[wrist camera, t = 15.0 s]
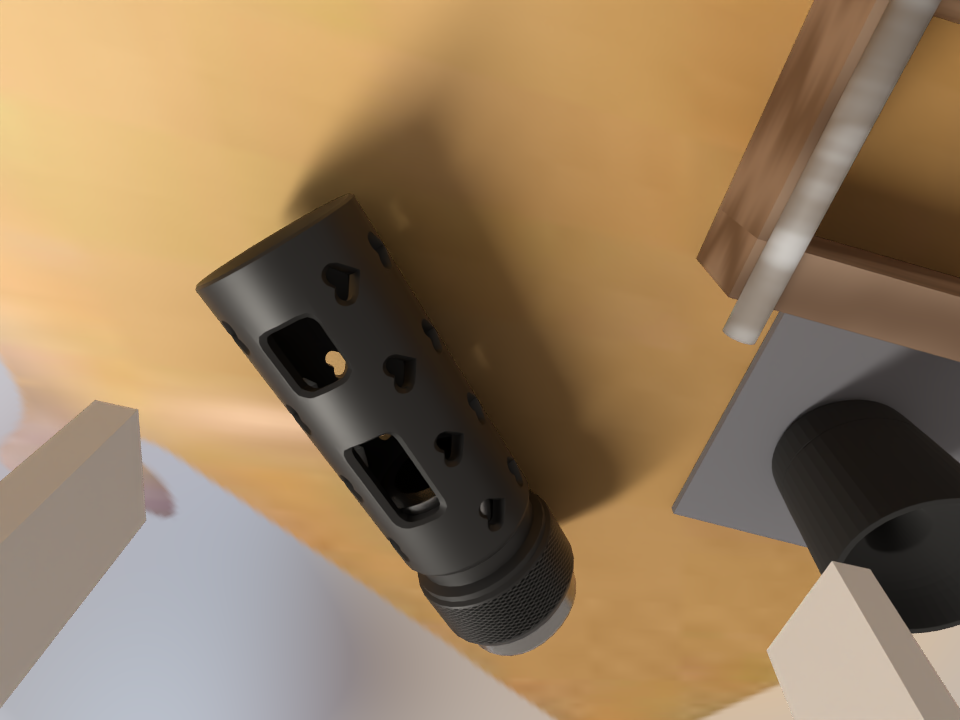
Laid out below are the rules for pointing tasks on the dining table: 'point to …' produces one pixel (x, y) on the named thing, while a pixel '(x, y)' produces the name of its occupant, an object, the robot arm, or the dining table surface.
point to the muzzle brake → (398, 423)
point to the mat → (796, 391)
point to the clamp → (827, 189)
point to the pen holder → (877, 504)
